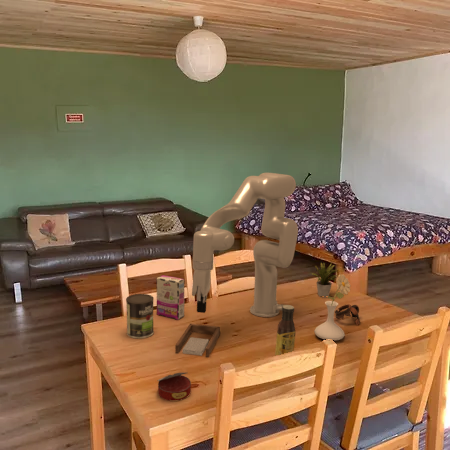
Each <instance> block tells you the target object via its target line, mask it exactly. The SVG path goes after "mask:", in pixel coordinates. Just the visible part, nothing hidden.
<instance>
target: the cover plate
mask: <svg viewBox="0 0 450 450" xmlns="http://www.w3.org/2000/svg"><path fill="white" fill-rule="evenodd" d="M209 342H210V339H208V338H200V337H190V336H189V338H188V339H187V341H186V342H185V344H184V345H183V347H182V354H186V355H194V356H199V357H202V356H203V354H204V353H205V352H206V348H207V346H208V344H209Z"/></svg>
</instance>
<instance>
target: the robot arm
mask: <svg viewBox="0 0 450 450" xmlns="http://www.w3.org/2000/svg"><path fill="white" fill-rule="evenodd" d="M296 186H297V183H296V180H295V178H294V177H293V176H292V175H289V174H282V173H275V172H263V173H260V174H259V175H249V176H247V177H246V178H244V180H243V182H242V183H241V185H240V186H239V188H238V189H237V190H236V192H235V194H234V195H233V196H232V198H231V200H230V201H229V202H228V203H226V204H225V205H224V206H222V207H220V208H219V209H217V210H215V211H214V212H213V213H212V214H210V216H208V218H207V219H206V220H205V222H204V224H203V225H202V226H201V228H200V230H198V231H196V232H194V234H193V243H192V244H193V245H192V247H193V248H192V269H193V270H194V271H193V274H192V275H193V276H192V286H191V287H192V289H191V295H192V296H193V297H194V296H195V295H196V312H197V313H202V314H205V313H206V312H207V297H208V293H210V290H211V280H212V279H211V276H212V271H213V270H214V251H226V250H228V249H229V250H230V249H231V248H232V246H234V243H235V237H234V234H233V233H232V232H231V231H230V230H227V229H223V228H222V226H223V225H225V224H227V223H228V222H231V221H235V220H236V221H237V220H240V219H243V218H245V217H247V216H249V213H250V211H251V210H252V208H253V207H254V206H255V204H256V203H257V201H258V200H259V199H261V200H264V201H265V203H264V211H263V216H262V217H263V218H262V221H261V228H260V230H261V231H260V232H261V234H262V235H263V236H265V237H266V238H270V239H275V240H278V241H279V242H276V241H271V240H266V239H260V240H258V241H257V242H256V243H255V244H254V246H253V250H252V251H253V261H254V290H253V291H254V294H253V305H251V306H250V308H249V311H250V313H251V314H252V315H254V316H257V317H262V318H272V317H275V316H277V315H279V313H280V311H282V306H283V305H284V304H279V303H278V300H277V287H278V286H277V285H278V270H277V267H278V268H283V269H285V268H288V267H289V266H291V264H292V262H293V260H294V256H295V250H296V247H297V240H298V234H299V228H298V224H297V222H296V221H295V220H294V219H293V218H288V217H285V211H286V200H285V198H286V197H290V196H291V195H292V194H293V193H294V192H295V190H296Z"/></svg>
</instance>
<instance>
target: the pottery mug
mask: <svg viewBox="0 0 450 450" xmlns="http://www.w3.org/2000/svg"><path fill="white" fill-rule="evenodd" d="M359 312H360V307H359V306H358V305H357V304H352V305H351V304H347V303H346V304H344V305H341V306H340V307H338V308H337V309H335V311H334V314H335V319H338V320H339V319H342V320H344V316H346V317H349V318H350V317H352V318H354V319H355V318H356V320H355V321H354V323H355V325H358V324H359V325H360V324H361V320H360V317H359V316H360V315H359ZM359 325H358V326H359Z"/></svg>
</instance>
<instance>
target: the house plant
mask: <svg viewBox="0 0 450 450" xmlns="http://www.w3.org/2000/svg"><path fill="white" fill-rule="evenodd" d="M325 265H326V263H325V262H323V263H322V262H320V269H319V268H318V266H317V265H314V267H315V270H316V271H317V273H318V274H316V272H314V273H312V275H314V276H316V277H317V282H316V288H317V289H316V290H317V291H316V292H317V296H318V295H319V296H318V297H320V296H324V297H323V298H327V297H326V296H330V293H331V288H332V285H333V284H332V282H330V281H331V280H332V281H333V282H335V281H336V280H335V279H337V278H338V275H339V274H338V275H337V274H336V275H334V274H333V273H339V272H340V269H338V268H336V269H333V268H334V267H335V266H336V265H335V264H333V265H332V262H331V263H330V264H329V266H328V267H327V268H326V266H325Z"/></svg>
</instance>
